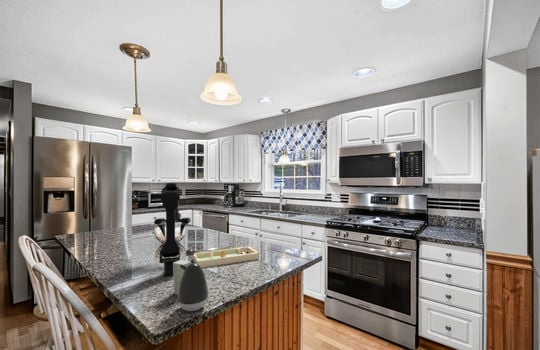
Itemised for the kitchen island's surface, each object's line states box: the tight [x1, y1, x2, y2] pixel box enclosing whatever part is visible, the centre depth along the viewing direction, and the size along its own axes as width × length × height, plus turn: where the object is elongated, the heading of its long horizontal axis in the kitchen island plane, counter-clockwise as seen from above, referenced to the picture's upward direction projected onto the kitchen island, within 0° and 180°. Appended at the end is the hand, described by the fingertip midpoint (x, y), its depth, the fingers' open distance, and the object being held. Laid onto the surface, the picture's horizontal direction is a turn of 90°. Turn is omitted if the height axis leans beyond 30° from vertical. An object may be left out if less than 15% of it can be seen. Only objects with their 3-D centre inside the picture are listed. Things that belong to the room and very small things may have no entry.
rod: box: [185, 246, 230, 259], centre depth 139 cm, size 3×24×6 cm, turn 115°
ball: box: [220, 251, 226, 257], centre depth 143 cm, size 4×4×4 cm
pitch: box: [192, 246, 260, 269], centre depth 142 cm, size 16×34×4 cm, turn 115°
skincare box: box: [172, 259, 192, 295], centre depth 99 cm, size 6×4×12 cm
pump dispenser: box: [177, 262, 209, 312], centre depth 87 cm, size 10×10×15 cm
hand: (172, 236), depth 143 cm, fingers open, 9 cm apart
